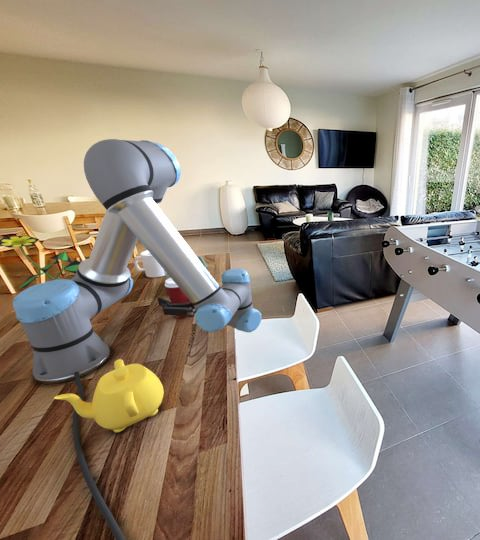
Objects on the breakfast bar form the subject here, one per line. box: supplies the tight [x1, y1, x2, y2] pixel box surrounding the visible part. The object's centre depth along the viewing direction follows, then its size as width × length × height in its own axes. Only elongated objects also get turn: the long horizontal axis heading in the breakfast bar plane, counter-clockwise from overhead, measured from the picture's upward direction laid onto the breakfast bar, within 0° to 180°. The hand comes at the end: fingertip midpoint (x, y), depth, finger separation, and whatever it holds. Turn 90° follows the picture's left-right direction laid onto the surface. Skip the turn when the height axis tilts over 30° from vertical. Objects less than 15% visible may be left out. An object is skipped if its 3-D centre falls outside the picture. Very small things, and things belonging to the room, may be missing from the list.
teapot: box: [53, 358, 165, 433], centre depth 64 cm, size 14×14×12 cm
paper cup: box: [164, 278, 191, 319], centre depth 103 cm, size 8×8×14 cm
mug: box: [133, 249, 165, 278], centre depth 135 cm, size 14×10×11 cm
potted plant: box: [0, 234, 82, 290], centre depth 94 cm, size 18×19×30 cm
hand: (178, 293), depth 103 cm, fingers open, 13 cm apart
